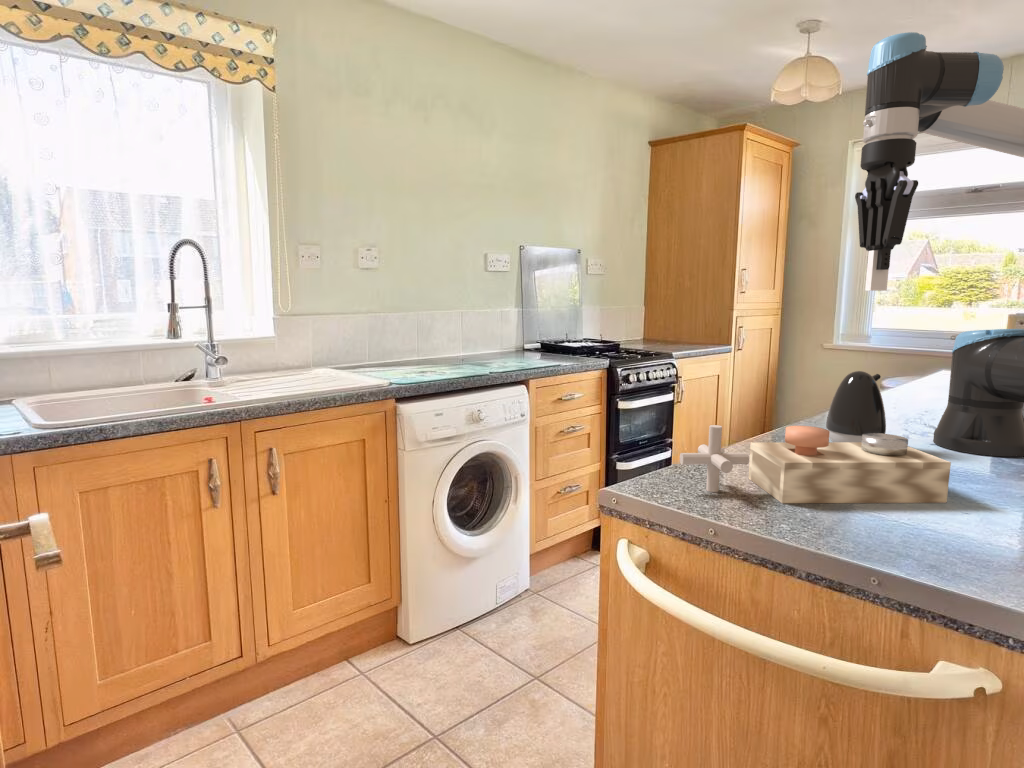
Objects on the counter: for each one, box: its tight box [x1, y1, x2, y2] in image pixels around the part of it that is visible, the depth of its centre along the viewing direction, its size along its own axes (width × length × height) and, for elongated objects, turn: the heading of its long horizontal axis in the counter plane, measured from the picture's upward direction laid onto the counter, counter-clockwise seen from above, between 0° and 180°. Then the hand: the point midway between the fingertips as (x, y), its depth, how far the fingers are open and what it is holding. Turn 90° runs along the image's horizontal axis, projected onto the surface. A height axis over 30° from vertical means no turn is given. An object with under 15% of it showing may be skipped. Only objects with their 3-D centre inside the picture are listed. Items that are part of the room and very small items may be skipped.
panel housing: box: [748, 441, 952, 504], centre depth 94 cm, size 24×12×6 cm, turn 91°
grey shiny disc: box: [861, 433, 909, 455], centre depth 94 cm, size 6×6×8 cm
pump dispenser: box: [825, 370, 887, 442], centre depth 119 cm, size 10×10×15 cm
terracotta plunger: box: [784, 425, 830, 455], centre depth 93 cm, size 6×6×8 cm
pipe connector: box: [679, 424, 750, 493], centre depth 93 cm, size 10×10×10 cm
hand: (875, 290), depth 102 cm, fingers closed
